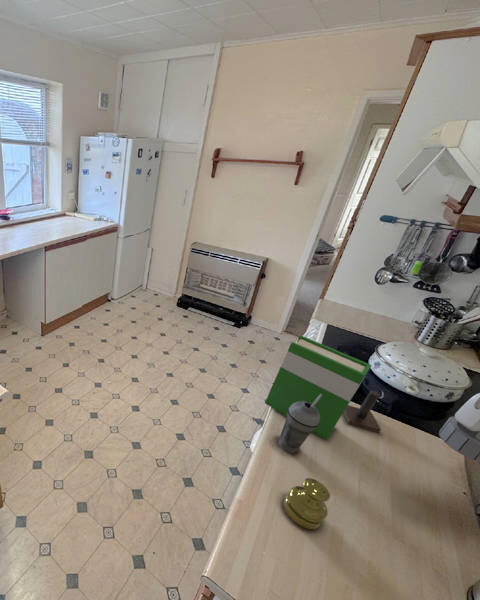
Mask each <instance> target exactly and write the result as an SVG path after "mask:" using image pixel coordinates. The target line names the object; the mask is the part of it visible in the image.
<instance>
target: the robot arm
mask: <svg viewBox="0 0 480 600" xmlns="http://www.w3.org/2000/svg"><path fill="white" fill-rule="evenodd" d="M454 416H455V419H456V420H457V421H458V422H459V423H461V424H462V425H464V426H465V427H467V428H468V429H470V430H471V431H479V432H478V433H477V435H476V437H477V438H478V439H479V440H480V392H479V393H476V394H474V395H473V396H472V397H470V398H469V399H468V400H467V401H466V402H465V403H464V404H463V405H462V406H461V407H460V408H459V409H458V410H457V411H456V412H455V414H454Z"/></svg>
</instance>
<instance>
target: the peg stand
mask: <svg viewBox="0 0 480 600" xmlns="http://www.w3.org/2000/svg"><path fill="white" fill-rule="evenodd" d="M380 397H381V394H380V393H379V392H377V391H376V390H370V391H369V392H368V394H367V396H366V397H365V398H364V400H363V401H362V403H361V405H360V407H355V406H352V405H350V404H348V406H347V407H346V409H345V411H344V412H343V414H342V416H343V418H344V419H345V422H346V424H347V425H350V426H353V427H356V428H360V429H363V430H366V431H370V432H373V433H376V434H380V432H381V428H380V426H379V424H378V422H377V420H376V418H375V416H374V415H373V413H372V411H371V410H372V409H373V407H374V406H375V404H376V403H377V402H378V400H379V398H380Z"/></svg>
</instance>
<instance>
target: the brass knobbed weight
mask: <svg viewBox="0 0 480 600" xmlns="http://www.w3.org/2000/svg"><path fill="white" fill-rule="evenodd" d="M330 498H331V493H330V491H329V489H328V488H327V487H326V486H325V484H324V483H322V482H320V481H319V480H317V479H314V478H312V477H311V478H310V477H309V478H305V479H303V481H302V486H301V485H295V486H292V487H291V488H289V492H288V493H287V494H286V496H285V498H284V500H283V507H284V510H285V513H286V514H287V516H288V517H289V518H290V519H291V520H292V521H293V522H294V523H296V524H297V525H298V526H300V527H301V528H304V529H307V530H317V529H318V528H319V527H320V525H322V524H323V522H324V520H325V519H326V518H327V516H328V508H327V504H326V503H325V502H327V501H329V500H330Z"/></svg>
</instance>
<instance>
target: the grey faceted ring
mask: <svg viewBox="0 0 480 600" xmlns="http://www.w3.org/2000/svg"><path fill="white" fill-rule="evenodd" d="M478 432H479V431H471V430H470V429H468V428H467V427H465V426H464V425H462V424H461V423H459V422H458V421H457V420H456V419H455V415H453V416H450V417H448V419H447V420H446V421H445V423H444V424H443V425H442V427H441V428H440V429H439V432H438V436H439V438H440V439H441V440H442V441H443V443H445V444H446V445H447V446H448V447H450V448H451V449H452V450H454V451H455V452H457V453H459V454H460V455H462V456H464V457H466V458H467V459H470V460H473V461H475V462H478V463H480V440H479V439H478V438H477V437H476V435H477V433H478Z"/></svg>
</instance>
